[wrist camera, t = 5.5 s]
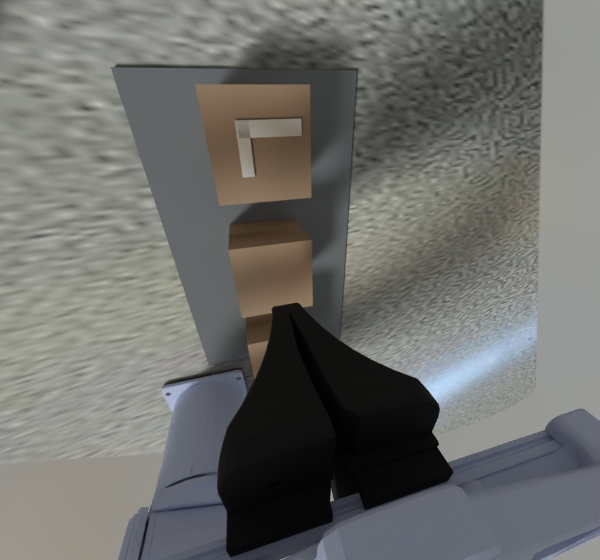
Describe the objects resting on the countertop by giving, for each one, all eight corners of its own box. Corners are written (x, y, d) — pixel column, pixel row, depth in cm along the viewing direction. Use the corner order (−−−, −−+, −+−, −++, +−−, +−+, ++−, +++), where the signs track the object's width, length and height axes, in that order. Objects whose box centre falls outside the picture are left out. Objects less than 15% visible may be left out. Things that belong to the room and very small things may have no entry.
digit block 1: (301, 336, 25) (315, 376, 21) (252, 345, 24) (256, 390, 20) (299, 296, 23) (315, 333, 18) (244, 305, 22) (247, 346, 18)
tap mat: (338, 336, 27) (339, 338, 27) (209, 363, 25) (209, 365, 24) (354, 71, 16) (356, 70, 15) (113, 68, 13) (110, 67, 13)
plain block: (297, 273, 22) (312, 305, 17) (240, 282, 21) (242, 318, 16) (294, 218, 19) (312, 239, 15) (229, 224, 18) (228, 250, 14)
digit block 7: (294, 184, 18) (314, 197, 13) (222, 189, 17) (219, 206, 13) (291, 100, 15) (314, 83, 11) (206, 101, 14) (194, 83, 10)
